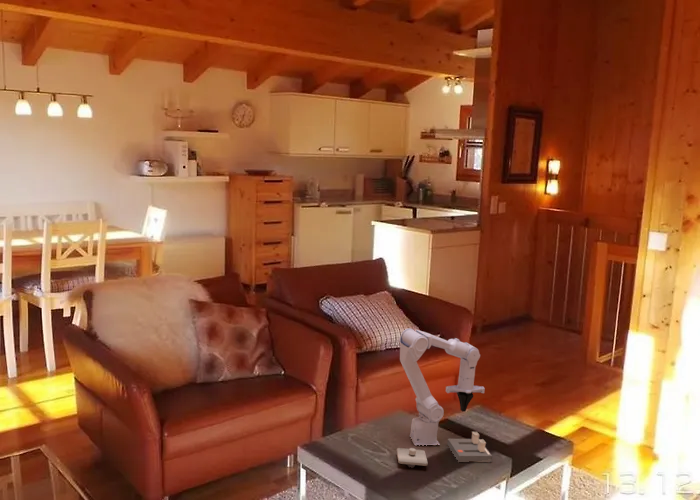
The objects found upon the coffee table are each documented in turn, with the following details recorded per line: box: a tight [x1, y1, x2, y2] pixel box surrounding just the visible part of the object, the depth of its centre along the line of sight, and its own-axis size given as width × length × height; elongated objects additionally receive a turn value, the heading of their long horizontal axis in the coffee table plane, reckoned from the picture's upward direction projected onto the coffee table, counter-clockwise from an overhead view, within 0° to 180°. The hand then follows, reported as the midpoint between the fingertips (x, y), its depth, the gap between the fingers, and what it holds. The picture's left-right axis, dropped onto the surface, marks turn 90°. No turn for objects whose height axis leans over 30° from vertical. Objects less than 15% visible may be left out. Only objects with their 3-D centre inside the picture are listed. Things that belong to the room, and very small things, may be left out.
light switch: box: [396, 447, 428, 469], centre depth 222 cm, size 10×10×5 cm
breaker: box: [471, 431, 480, 444], centre depth 236 cm, size 2×3×4 cm
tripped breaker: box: [478, 438, 487, 452], centre depth 230 cm, size 2×3×4 cm
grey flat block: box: [446, 438, 493, 463], centre depth 233 cm, size 12×13×2 cm
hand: (462, 410), depth 245 cm, fingers closed
